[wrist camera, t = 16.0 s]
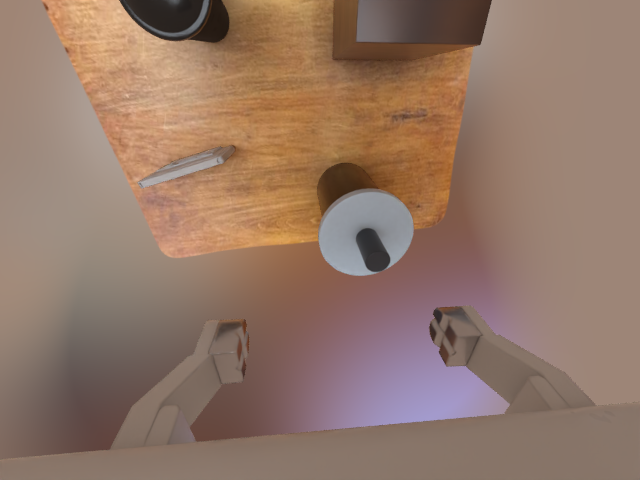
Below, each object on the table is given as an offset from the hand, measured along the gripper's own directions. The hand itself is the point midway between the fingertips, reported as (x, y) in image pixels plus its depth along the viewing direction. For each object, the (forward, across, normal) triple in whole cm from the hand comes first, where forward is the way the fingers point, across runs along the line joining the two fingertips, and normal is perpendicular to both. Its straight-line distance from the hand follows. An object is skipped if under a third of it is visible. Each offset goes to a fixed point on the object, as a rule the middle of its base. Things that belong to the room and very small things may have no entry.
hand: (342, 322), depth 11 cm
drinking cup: (+35, +12, -16) cm, 41 cm away
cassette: (+35, +17, +1) cm, 39 cm away
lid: (+20, -6, +6) cm, 22 cm away
